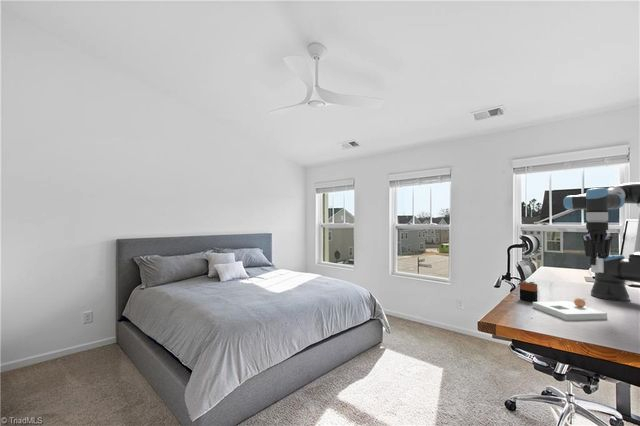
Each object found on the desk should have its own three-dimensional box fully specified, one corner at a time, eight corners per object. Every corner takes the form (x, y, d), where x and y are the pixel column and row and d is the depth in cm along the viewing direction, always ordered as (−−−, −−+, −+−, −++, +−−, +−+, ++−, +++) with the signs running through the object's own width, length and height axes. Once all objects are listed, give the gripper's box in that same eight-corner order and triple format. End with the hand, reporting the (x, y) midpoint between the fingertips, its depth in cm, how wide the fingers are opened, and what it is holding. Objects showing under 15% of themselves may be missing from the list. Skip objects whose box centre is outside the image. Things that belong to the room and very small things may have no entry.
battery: (534, 302, 152) (534, 283, 152) (519, 299, 157) (519, 280, 157) (537, 301, 154) (537, 282, 154) (522, 298, 160) (522, 279, 160)
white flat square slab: (568, 306, 146) (568, 301, 146) (607, 319, 128) (607, 313, 128) (532, 307, 144) (532, 302, 144) (566, 320, 126) (566, 314, 126)
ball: (579, 305, 139) (579, 297, 139) (587, 308, 135) (587, 299, 135) (571, 305, 138) (571, 297, 138) (579, 308, 134) (579, 299, 134)
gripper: (603, 221, 142) (603, 270, 142) (574, 221, 141) (575, 270, 140) (620, 221, 134) (620, 273, 134) (590, 221, 133) (590, 274, 133)
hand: (597, 272), depth 137 cm, fingers open, 2 cm apart
